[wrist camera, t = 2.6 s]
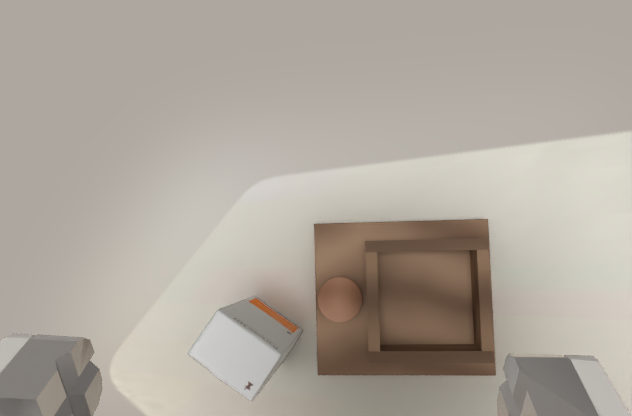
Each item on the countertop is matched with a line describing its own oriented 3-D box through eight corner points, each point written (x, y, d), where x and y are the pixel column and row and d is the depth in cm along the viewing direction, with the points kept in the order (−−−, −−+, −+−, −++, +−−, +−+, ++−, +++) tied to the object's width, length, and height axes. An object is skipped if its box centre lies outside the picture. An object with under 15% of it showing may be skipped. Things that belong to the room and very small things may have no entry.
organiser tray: (492, 372, 46) (504, 384, 42) (319, 371, 48) (314, 383, 43) (484, 219, 47) (496, 217, 43) (315, 224, 49) (310, 222, 45)
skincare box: (304, 329, 48) (284, 356, 36) (279, 366, 48) (251, 405, 36) (253, 293, 49) (217, 308, 37) (228, 329, 49) (184, 356, 37)
